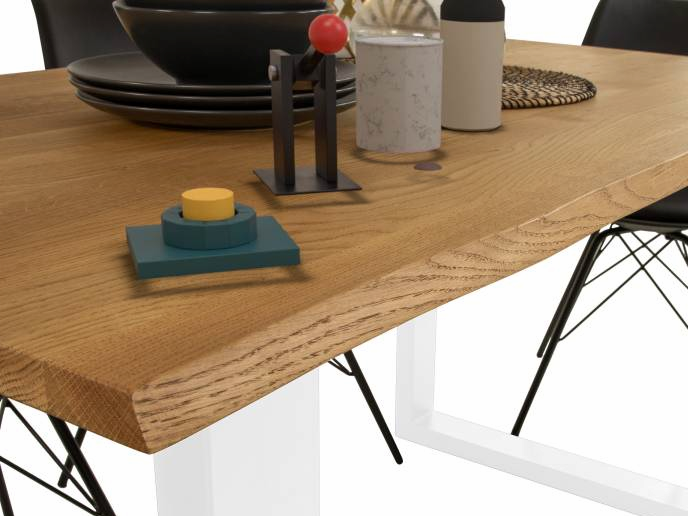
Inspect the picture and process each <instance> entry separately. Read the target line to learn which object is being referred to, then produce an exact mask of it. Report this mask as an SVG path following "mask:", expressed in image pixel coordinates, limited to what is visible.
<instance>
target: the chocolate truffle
mask: <svg viewBox="0 0 688 516" xmlns="http://www.w3.org/2000/svg"><path fill="white" fill-rule="evenodd" d="M413 169H414V170H417V171H423V172H424V171H425V172H435V171H440V170H442V169H443V167H442V165H441V164H440V163H437V162H435V161H427V160H426V161H421V162H418V163H416V164H414V166H413Z"/></svg>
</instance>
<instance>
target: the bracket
mask: <svg viewBox="0 0 688 516" xmlns="http://www.w3.org/2000/svg"><path fill="white" fill-rule="evenodd" d="M318 71H319V79H320V80H319V82H318V83H317V84H316V86H315V87H314V88H313V114H314V152H315V153H314V159H315V161H314V163H315V165H308V166H307V165H305V166H304V165H303V166H296V157H295V156H296V155H295V154H296V153H295V125H294V124H295V123H294V96H293V95H294V90H293V87H292V55H291V54H290V53H288V52H286V51H284V50H282V49H269V65H268V78H269V81H270V91H271V116H272V117H271V120H272V145H273V168H257V169H256V168H255V169H253V170H252V172H253V174H254V175H255V176H256V177H257V178H258V179H259V180H260V182H262V183H263V185H265V187H266V188H267V189H268V190H269V191H270V192H271V194H273V196H274V197H282V196H298V195H299V196H300V195H310V194H311V195H312V194H313V195H314V194H325V193H326V194H327V193H339V192H353V191H363V187H362V186H360V185H359V184H358V183H357V182H355V181H354V180H353V179H352V178H350V177H349V176H348V175H347V174H345V173H344V172H343V171H341V170H340V169H339V168H338V121H337V120H338V119H337V118H338V117H337V115H338V114H337V76H338V69H337V56H336V53H334V54H325V55H324V57H323V58H322V60H321V61H320V63H319V64H318Z"/></svg>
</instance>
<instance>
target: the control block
mask: <svg viewBox="0 0 688 516" xmlns="http://www.w3.org/2000/svg"><path fill="white" fill-rule="evenodd" d="M234 213H235V216H234V217H231V218H227V219H223V220H213V221H197V220H188V219H184V218H183V210H182V204H178V205H174V206H171V207H169V208H167V209H166V210H164V211H162V212H161V213H160V222H161V223H159V224H158V223H157V224H146V225H133V226H125V239H126V245H127V247H128V251H129V254H130V257H131V260H132V263H133V266H134V269H135V273H136V275H137V278H138V280H139V281H140V280H152V279H161V278H172V277H182V276H183V277H184V276H193V275H204V274H215V273H223V272H233V271H243V270H245V271H246V270H255V269H256V270H257V269H266V268H267V269H268V268H276V267H286V266H296V265H297V266H298V265H301V249H300V247H299V245H298V244H297V243H296V241H294V239H293V238H292V237H291V236H290V235H289V234H288V233H287V231H286V230H285V229H284V228H283V226H282V225H281V224H280V223H279V221H277V219H276V218H275V217H274V215H261V216H260V215H259V216H257V211H256V210H255V209H254V208H253V207H252V206H250V205H246V204H242V203H238V202H235V201H234Z"/></svg>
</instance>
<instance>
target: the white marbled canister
mask: <svg viewBox="0 0 688 516" xmlns="http://www.w3.org/2000/svg"><path fill="white" fill-rule="evenodd" d="M354 42H355V43H354V44H355V124H356V125H355V129H356V131H355V132H356V133H355V136H356V137H355V139H356V140H355V141H356V142H355V143H356V146H357V147H358V148H360V149H363V150H367V151H372V152H380V153H388V154H389V153H391V154H393V153H394V154H410V153H423V152H424V153H425V152H430V151H433V150H436V149H438V148H440V147H441V146H442V126H441V102H442V51H443V43H444V41H443V39H440V37H433V36H424V35H407V34H376V35H363V36H362V35H361V36H357V37H354Z"/></svg>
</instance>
